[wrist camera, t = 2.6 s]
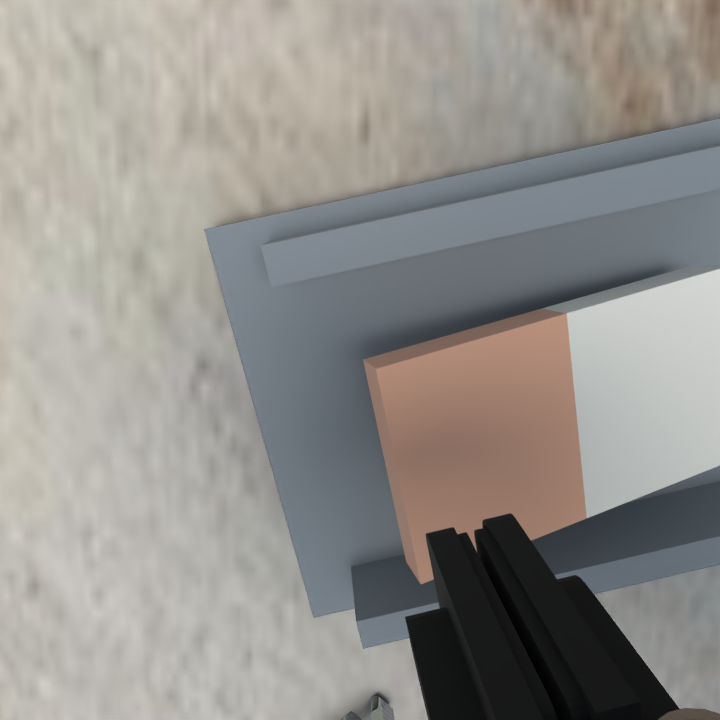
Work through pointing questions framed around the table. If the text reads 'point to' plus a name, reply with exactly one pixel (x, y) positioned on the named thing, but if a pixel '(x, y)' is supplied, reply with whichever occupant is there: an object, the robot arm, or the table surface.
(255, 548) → the table surface
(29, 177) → the table surface
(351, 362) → the grey piece
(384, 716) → the caliper
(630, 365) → the two-tone peach white tile
